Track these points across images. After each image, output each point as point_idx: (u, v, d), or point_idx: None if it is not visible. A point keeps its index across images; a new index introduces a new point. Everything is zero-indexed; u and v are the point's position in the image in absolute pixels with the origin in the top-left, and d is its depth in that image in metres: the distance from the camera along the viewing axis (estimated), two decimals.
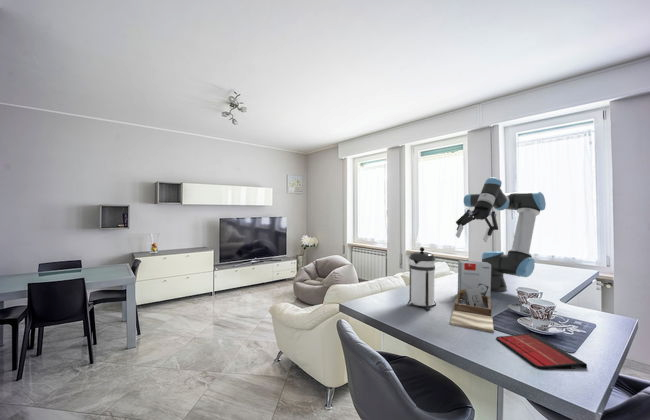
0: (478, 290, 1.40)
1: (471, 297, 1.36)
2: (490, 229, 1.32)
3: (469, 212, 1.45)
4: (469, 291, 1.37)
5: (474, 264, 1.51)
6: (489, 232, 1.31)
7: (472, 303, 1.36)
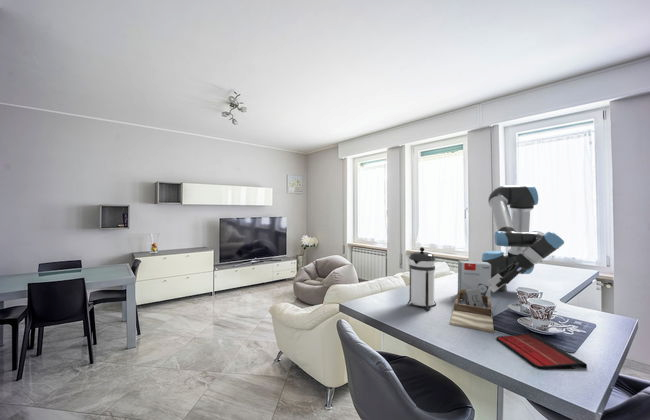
0: (478, 290, 1.40)
1: (471, 297, 1.36)
2: None
3: None
4: (469, 291, 1.37)
5: (474, 264, 1.51)
6: None
7: (472, 303, 1.36)
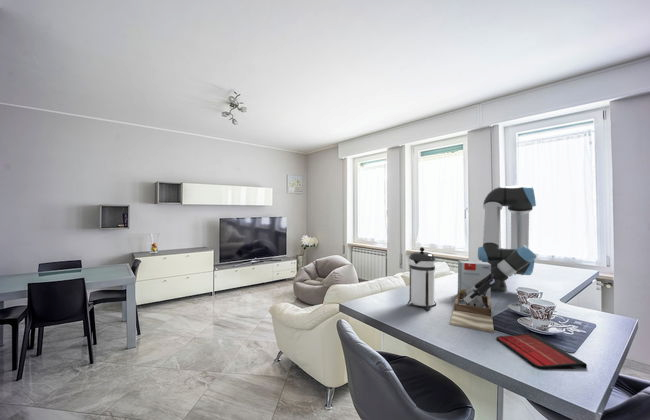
0: None
1: None
2: None
3: None
4: (469, 291, 1.37)
5: (474, 264, 1.51)
6: None
7: (472, 303, 1.35)
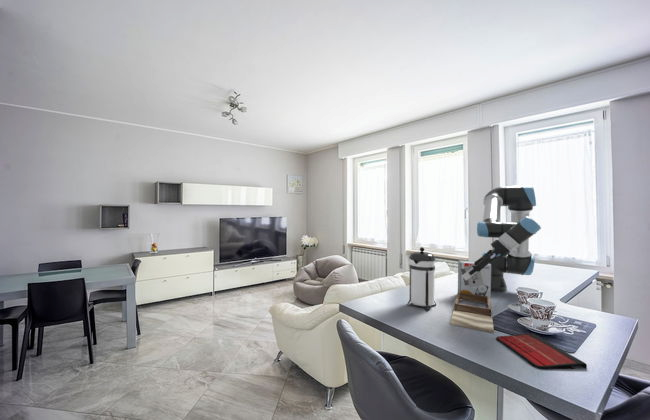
0: None
1: None
2: None
3: None
4: (468, 267, 1.27)
5: None
6: None
7: (471, 280, 1.25)
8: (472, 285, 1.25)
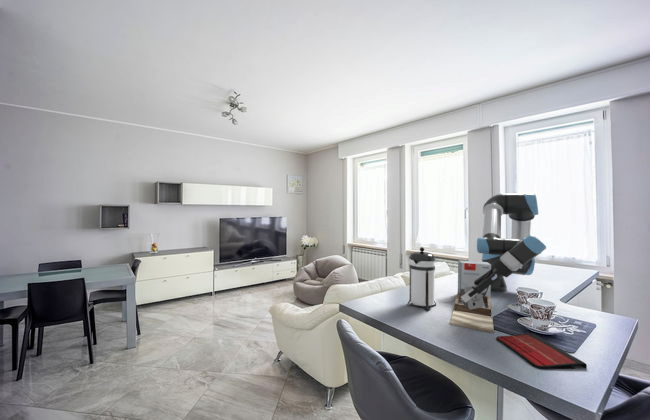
0: None
1: None
2: None
3: None
4: (467, 288, 1.18)
5: (474, 264, 1.51)
6: None
7: (471, 302, 1.17)
8: (472, 307, 1.16)
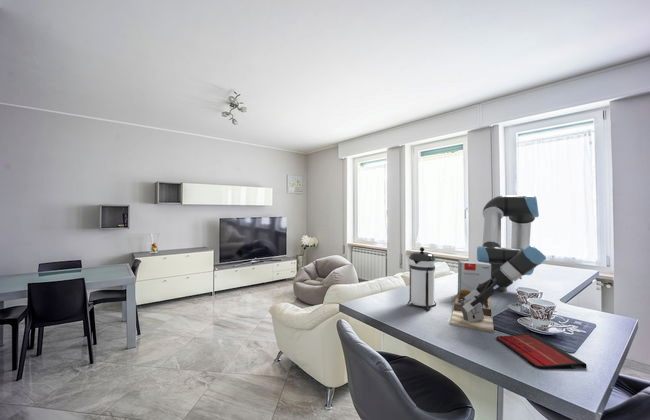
0: None
1: None
2: None
3: None
4: (467, 301, 1.19)
5: (474, 264, 1.51)
6: None
7: (471, 315, 1.17)
8: (472, 320, 1.17)
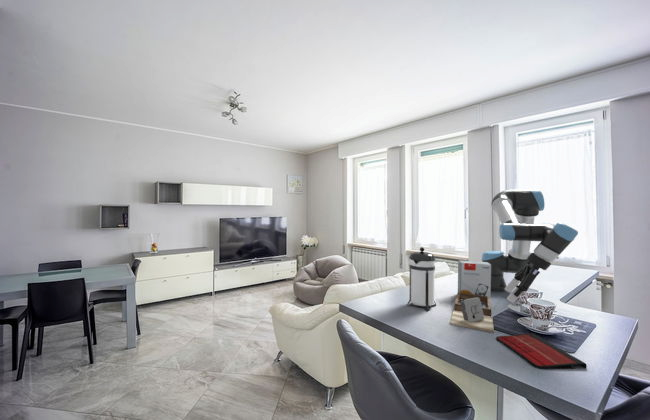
0: (478, 300, 1.22)
1: (469, 308, 1.18)
2: None
3: None
4: (467, 301, 1.19)
5: (474, 264, 1.51)
6: None
7: (471, 315, 1.17)
8: (472, 320, 1.17)
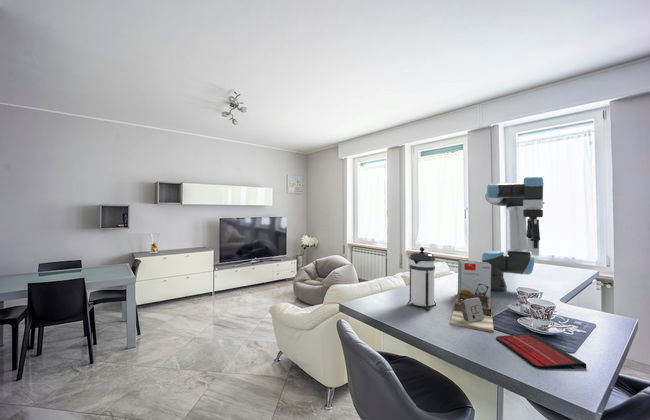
0: (478, 300, 1.22)
1: (469, 308, 1.18)
2: (531, 239, 1.37)
3: None
4: (467, 301, 1.19)
5: (474, 264, 1.51)
6: None
7: (471, 315, 1.17)
8: (472, 320, 1.17)
